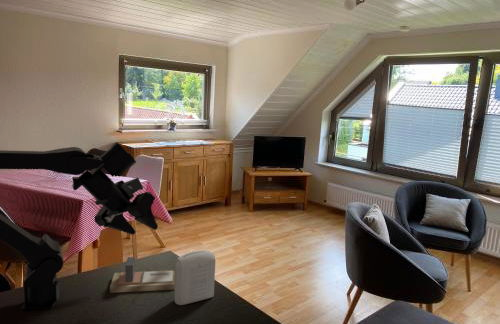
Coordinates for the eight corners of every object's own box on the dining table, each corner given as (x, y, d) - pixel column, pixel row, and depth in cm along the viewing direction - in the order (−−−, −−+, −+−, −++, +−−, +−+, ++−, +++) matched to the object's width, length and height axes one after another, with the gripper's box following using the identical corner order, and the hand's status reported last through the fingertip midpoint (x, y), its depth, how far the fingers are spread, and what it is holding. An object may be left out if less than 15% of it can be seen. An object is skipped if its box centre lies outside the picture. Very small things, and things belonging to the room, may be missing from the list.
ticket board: (109, 292, 96) (109, 285, 96) (114, 277, 104) (114, 271, 103) (174, 289, 99) (174, 282, 99) (174, 275, 107) (174, 268, 106)
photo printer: (208, 290, 100) (210, 245, 98) (216, 297, 96) (218, 251, 94) (171, 299, 94) (172, 252, 92) (178, 308, 91) (179, 259, 88)
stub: (118, 284, 97) (118, 266, 96) (121, 273, 103) (121, 256, 102) (139, 283, 98) (139, 265, 97) (141, 273, 104) (141, 256, 103)
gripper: (144, 159, 93) (183, 202, 100) (101, 175, 103) (138, 214, 110) (119, 190, 85) (163, 235, 92) (75, 205, 96) (117, 244, 102)
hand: (145, 231), depth 99 cm, fingers open, 9 cm apart
